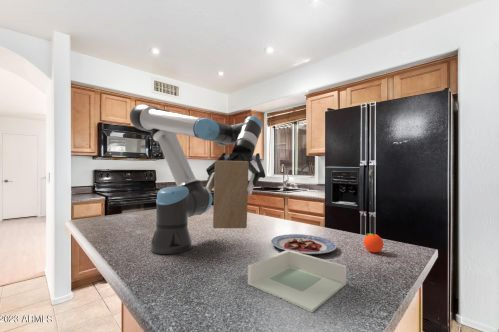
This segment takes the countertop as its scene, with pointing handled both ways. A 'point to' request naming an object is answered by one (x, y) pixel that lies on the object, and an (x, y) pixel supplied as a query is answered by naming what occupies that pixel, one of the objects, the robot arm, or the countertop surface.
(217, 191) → the wooden block
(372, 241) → the clementine
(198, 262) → the countertop surface
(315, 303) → the corner arena
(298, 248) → the ceramic plate
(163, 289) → the countertop surface
